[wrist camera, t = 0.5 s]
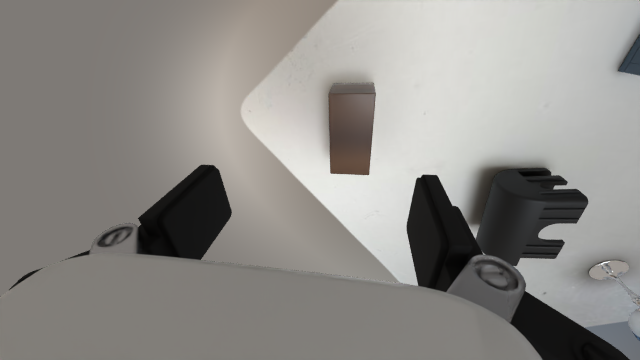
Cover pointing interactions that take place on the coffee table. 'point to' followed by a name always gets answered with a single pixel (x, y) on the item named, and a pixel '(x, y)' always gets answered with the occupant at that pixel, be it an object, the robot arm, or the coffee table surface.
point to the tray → (632, 60)
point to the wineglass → (614, 270)
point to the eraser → (351, 127)
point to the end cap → (526, 214)
